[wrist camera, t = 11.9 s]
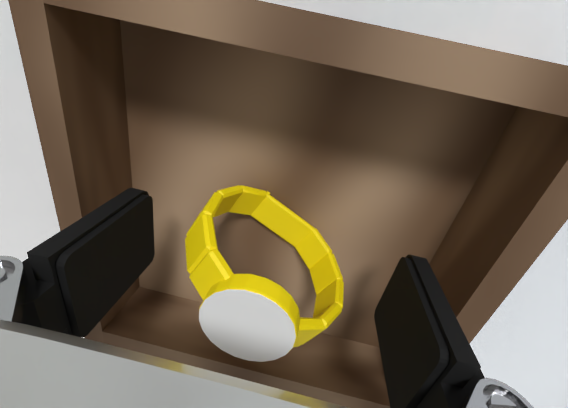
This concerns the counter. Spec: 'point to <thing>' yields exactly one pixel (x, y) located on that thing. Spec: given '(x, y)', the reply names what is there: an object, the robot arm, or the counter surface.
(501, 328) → the counter surface
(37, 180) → the counter surface
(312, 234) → the watch
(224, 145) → the box
